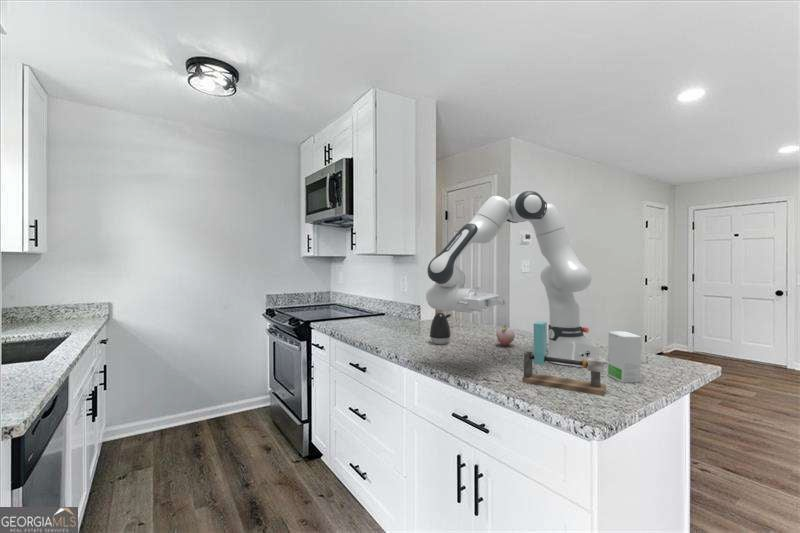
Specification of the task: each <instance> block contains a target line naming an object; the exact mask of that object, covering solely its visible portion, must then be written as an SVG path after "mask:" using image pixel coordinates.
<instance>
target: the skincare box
mask: <svg viewBox="0 0 800 533" xmlns="http://www.w3.org/2000/svg"><path fill="white" fill-rule="evenodd" d="M607 349H608V350H607V351H608V352H607V376H608V377H610V378H613V379H614V380H616V381H618V382H620V383H622V384H627V383H631V384H632V383H640V380H641V352H642V336H641V335H638V334H635V333H633V332H628V331H624V330H621V331H620V330H619V331H617V330H616V331H613V330H612V331H608V348H607Z"/></svg>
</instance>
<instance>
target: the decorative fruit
mask: <svg viewBox="0 0 800 533" xmlns="http://www.w3.org/2000/svg"><path fill="white" fill-rule="evenodd" d="M515 336H516V335H515V331H514V330H513V329H512V328H511V327H509V326H506V325H504V326H502V327H499V328H498V329H497V331H496V338H497V341H498V342H499V344H501V346H504V347H506V346H508V345H510V344H511V343H512V342H514V340H515Z"/></svg>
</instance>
